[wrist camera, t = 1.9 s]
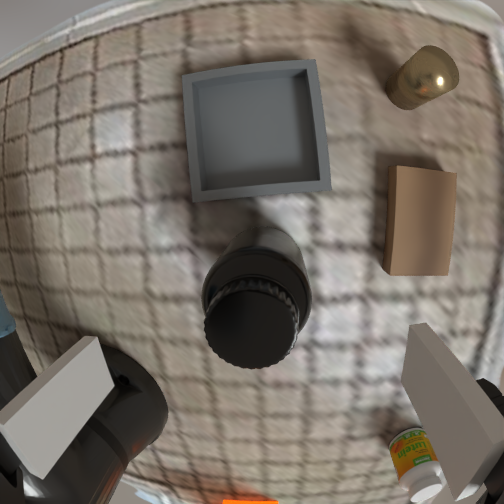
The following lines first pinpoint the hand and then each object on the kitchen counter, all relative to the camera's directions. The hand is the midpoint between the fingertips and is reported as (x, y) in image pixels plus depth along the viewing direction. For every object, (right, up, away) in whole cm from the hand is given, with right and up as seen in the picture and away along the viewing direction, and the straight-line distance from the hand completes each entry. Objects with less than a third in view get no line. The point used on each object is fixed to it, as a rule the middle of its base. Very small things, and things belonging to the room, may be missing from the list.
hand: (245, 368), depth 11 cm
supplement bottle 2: (+21, -20, +19) cm, 34 cm away
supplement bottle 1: (+1, +3, +15) cm, 16 cm away
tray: (+1, +14, +12) cm, 19 cm away
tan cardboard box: (+15, +7, +13) cm, 21 cm away
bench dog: (+14, +19, +10) cm, 25 cm away
